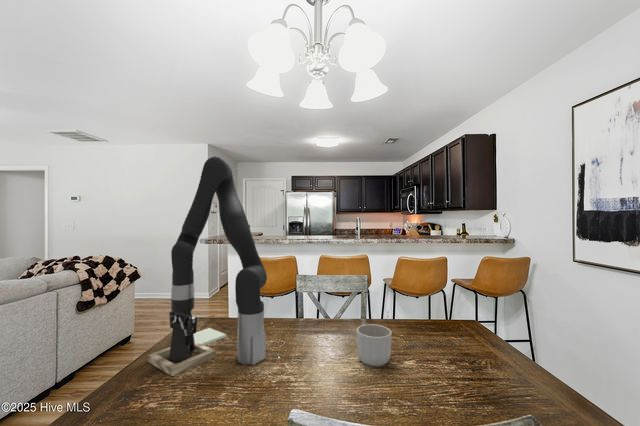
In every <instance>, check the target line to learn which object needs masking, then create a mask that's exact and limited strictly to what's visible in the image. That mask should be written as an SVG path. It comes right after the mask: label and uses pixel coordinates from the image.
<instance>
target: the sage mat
mask: <svg viewBox="0 0 640 426" xmlns="http://www.w3.org/2000/svg"><path fill="white" fill-rule="evenodd" d="M223 338H224V339H225V338H227V333H224V332H221V331H218V330H216V329H213V328H211V327H208V328H205V329H202V330H199V331H196V333H195V334H194V341H195V342H197V343H200V344H202V345H204V346H206V345H208V344H209V345H210V344H211V343H213V342H217V341H219V340H222V339H223Z"/></svg>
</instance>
